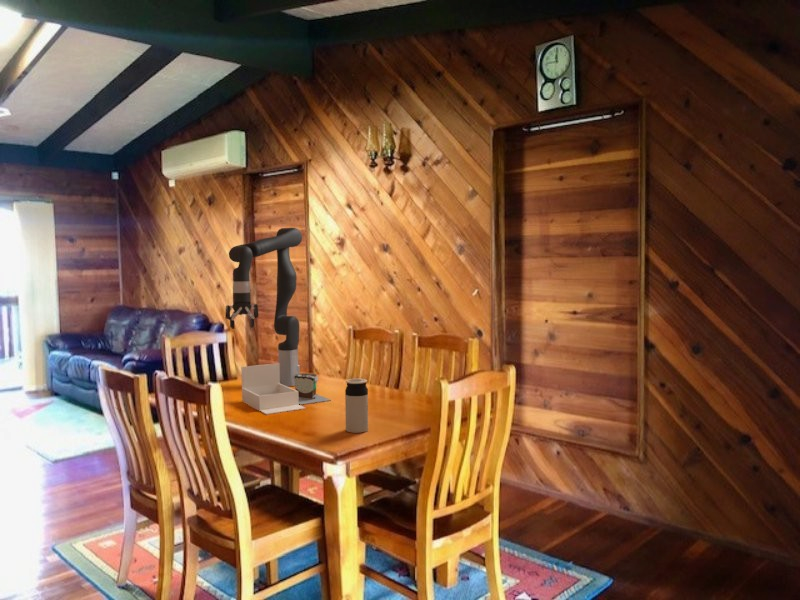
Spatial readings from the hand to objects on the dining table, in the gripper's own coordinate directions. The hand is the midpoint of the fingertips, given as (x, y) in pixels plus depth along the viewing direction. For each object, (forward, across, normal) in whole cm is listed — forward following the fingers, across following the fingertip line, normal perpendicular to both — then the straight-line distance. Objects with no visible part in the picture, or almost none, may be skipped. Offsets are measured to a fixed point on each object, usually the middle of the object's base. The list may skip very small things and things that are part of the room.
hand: (242, 328), depth 286 cm
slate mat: (+30, -20, +22) cm, 42 cm away
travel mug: (+30, -13, +79) cm, 85 cm away
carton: (+30, -3, +25) cm, 40 cm away
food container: (+30, -22, +21) cm, 43 cm away
